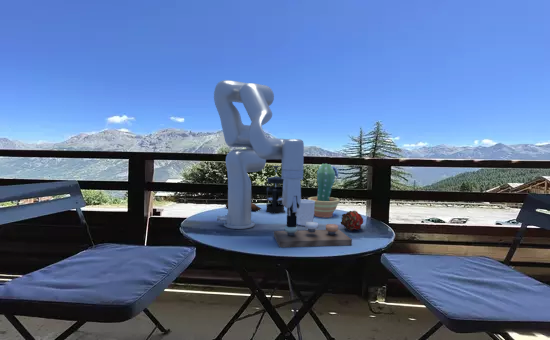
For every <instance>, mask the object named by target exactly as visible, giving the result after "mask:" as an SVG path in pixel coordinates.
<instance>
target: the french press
mask: <svg viewBox="0 0 550 340" xmlns="http://www.w3.org/2000/svg"><path fill="white" fill-rule="evenodd" d="M271 168H274V170H275V171H277V170H278V168H281V166H278V165H273V166H271ZM266 179H267V183H268V184H275V186H268V187H266V200H267V202H270V203H266V210H265V212H266V213H269V214H283V213H285V206H284V205H283V204H282V203H279V202H282V197H279V193H280V192H282V193H283V186H277V185H278V184H283V181H284V179H282V176H281V177H280V176H273V177H267V178H266ZM268 192H270V193H272V195H271V197H268ZM271 202H272V203H271Z"/></svg>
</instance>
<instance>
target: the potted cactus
mask: <svg viewBox="0 0 550 340" xmlns="http://www.w3.org/2000/svg"><path fill="white" fill-rule="evenodd" d="M338 177H339V171H338V168H336V167H335V166H334V165H332V164H330V163H329V164H328V163H322V164H320V166H319V167H318V169H317V171H316V182H317V194H316V196H310V197H308V198H307V200H313V201H315V207H314V217H318V218H332V217H333V213H334V212H335V211H336V209H337V207H338V205H339V204H340V202H341V199H339V198H338V197H333V196H331V193H332V190H333V189H332V187H333V186H334V184H335V179H339V178H338Z"/></svg>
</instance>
